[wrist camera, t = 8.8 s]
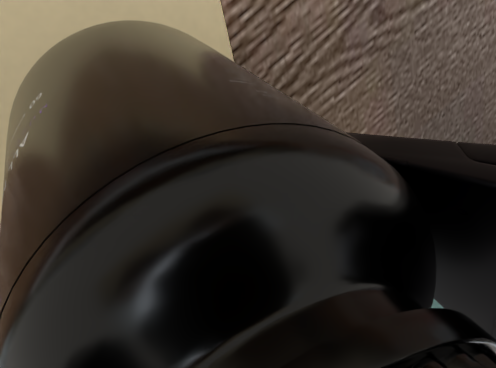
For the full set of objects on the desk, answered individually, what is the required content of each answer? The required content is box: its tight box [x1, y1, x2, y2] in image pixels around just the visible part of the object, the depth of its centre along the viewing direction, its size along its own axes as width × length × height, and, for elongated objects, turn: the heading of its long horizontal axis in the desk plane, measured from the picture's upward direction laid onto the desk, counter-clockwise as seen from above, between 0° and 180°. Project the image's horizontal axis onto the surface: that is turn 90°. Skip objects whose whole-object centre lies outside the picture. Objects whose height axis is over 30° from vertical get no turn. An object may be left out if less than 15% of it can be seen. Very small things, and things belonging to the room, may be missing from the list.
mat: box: [0, 0, 234, 223], centre depth 15 cm, size 10×10×1 cm
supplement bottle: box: [0, 20, 496, 368], centre depth 8 cm, size 7×7×12 cm
